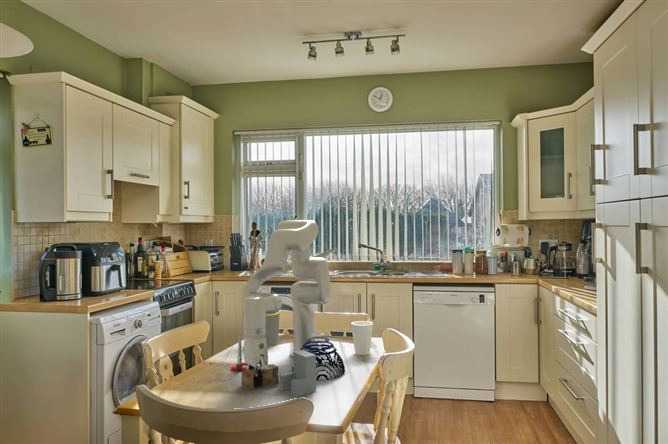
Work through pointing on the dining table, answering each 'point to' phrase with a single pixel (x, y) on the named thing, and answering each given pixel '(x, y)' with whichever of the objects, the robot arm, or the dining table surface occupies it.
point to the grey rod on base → (239, 360)
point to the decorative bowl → (319, 361)
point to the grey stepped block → (300, 374)
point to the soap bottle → (272, 329)
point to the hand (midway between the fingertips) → (255, 384)
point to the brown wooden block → (268, 377)
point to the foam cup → (362, 336)
